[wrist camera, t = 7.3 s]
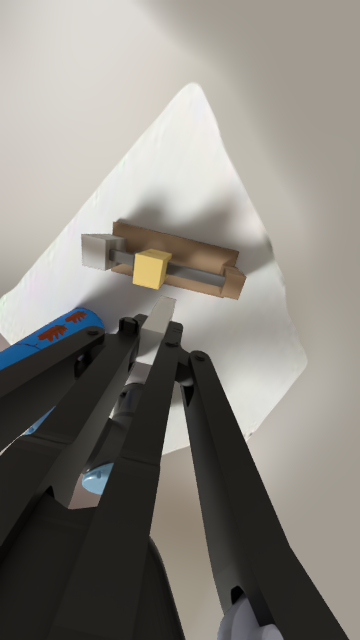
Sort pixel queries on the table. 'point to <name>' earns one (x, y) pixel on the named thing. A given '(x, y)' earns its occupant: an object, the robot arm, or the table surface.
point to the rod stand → (183, 268)
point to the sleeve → (151, 268)
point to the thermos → (49, 335)
